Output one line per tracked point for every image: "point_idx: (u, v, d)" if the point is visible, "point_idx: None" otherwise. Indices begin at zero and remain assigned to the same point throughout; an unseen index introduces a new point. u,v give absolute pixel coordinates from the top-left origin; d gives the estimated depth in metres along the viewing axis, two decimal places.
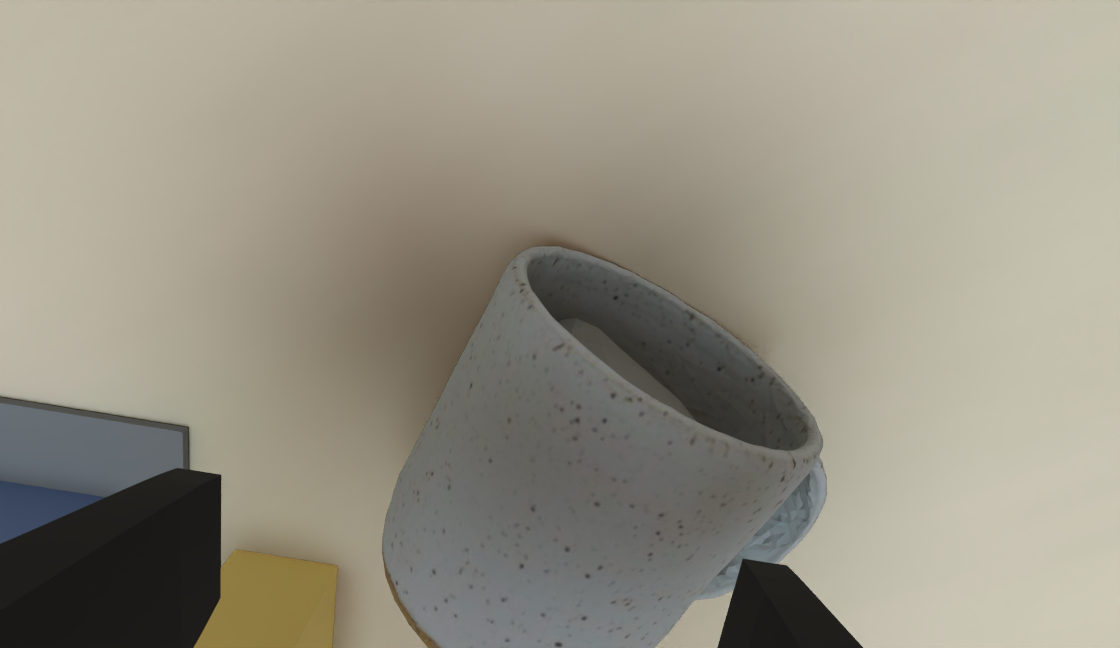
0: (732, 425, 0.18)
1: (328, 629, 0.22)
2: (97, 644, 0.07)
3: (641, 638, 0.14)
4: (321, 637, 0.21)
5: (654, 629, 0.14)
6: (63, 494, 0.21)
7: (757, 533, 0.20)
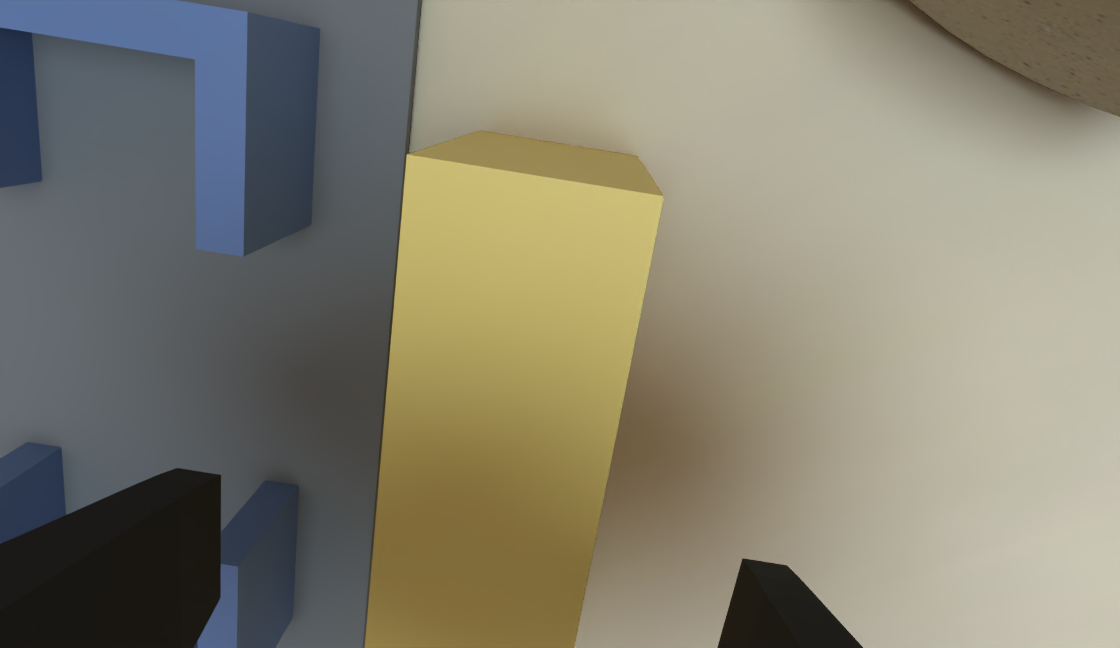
0: None
1: None
2: (97, 644, 0.07)
3: None
4: None
5: None
6: None
7: None
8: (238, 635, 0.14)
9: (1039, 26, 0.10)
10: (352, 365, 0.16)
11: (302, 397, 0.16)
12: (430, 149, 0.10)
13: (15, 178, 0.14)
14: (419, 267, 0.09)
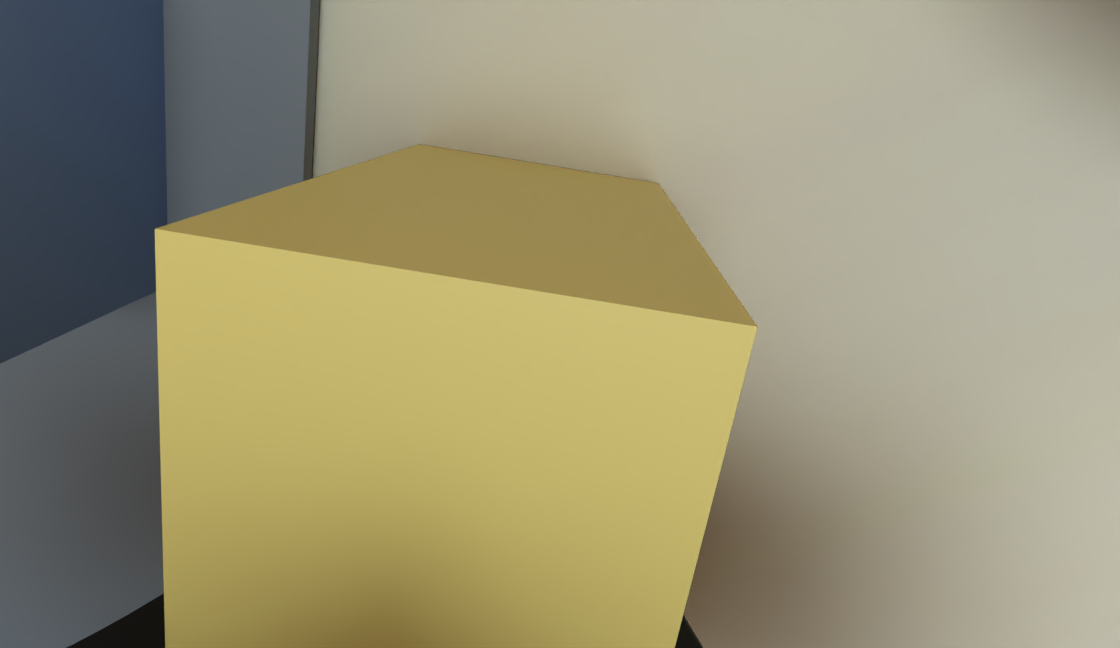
0: None
1: None
2: None
3: None
4: None
5: None
6: None
7: None
8: None
9: None
10: None
11: None
12: (253, 202, 0.05)
13: None
14: (209, 469, 0.04)
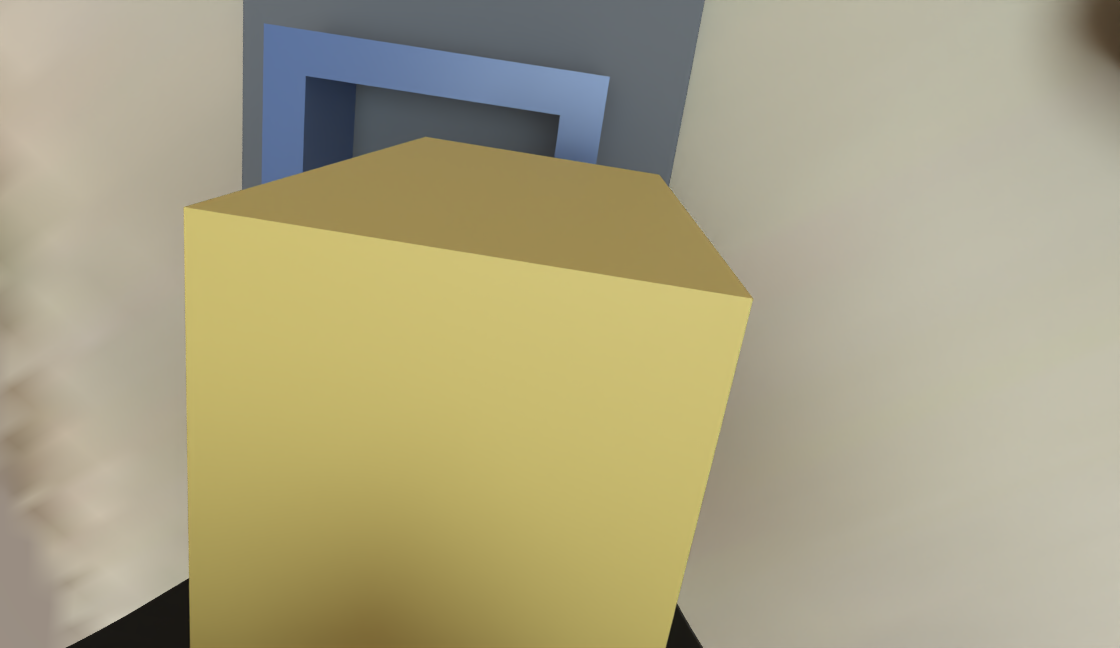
0: None
1: None
2: None
3: None
4: None
5: None
6: None
7: None
8: None
9: None
10: None
11: None
12: (272, 186, 0.05)
13: None
14: (233, 438, 0.04)
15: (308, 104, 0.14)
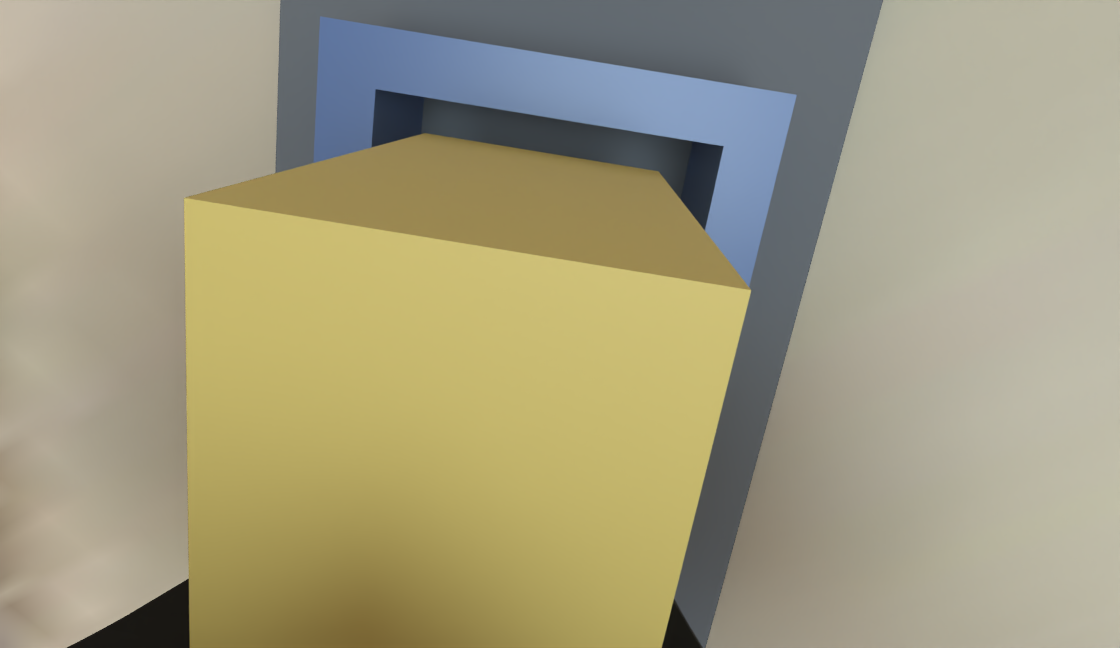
0: None
1: None
2: None
3: None
4: None
5: None
6: None
7: None
8: None
9: None
10: (721, 449, 0.14)
11: None
12: (272, 178, 0.05)
13: None
14: (233, 429, 0.04)
15: (376, 126, 0.10)
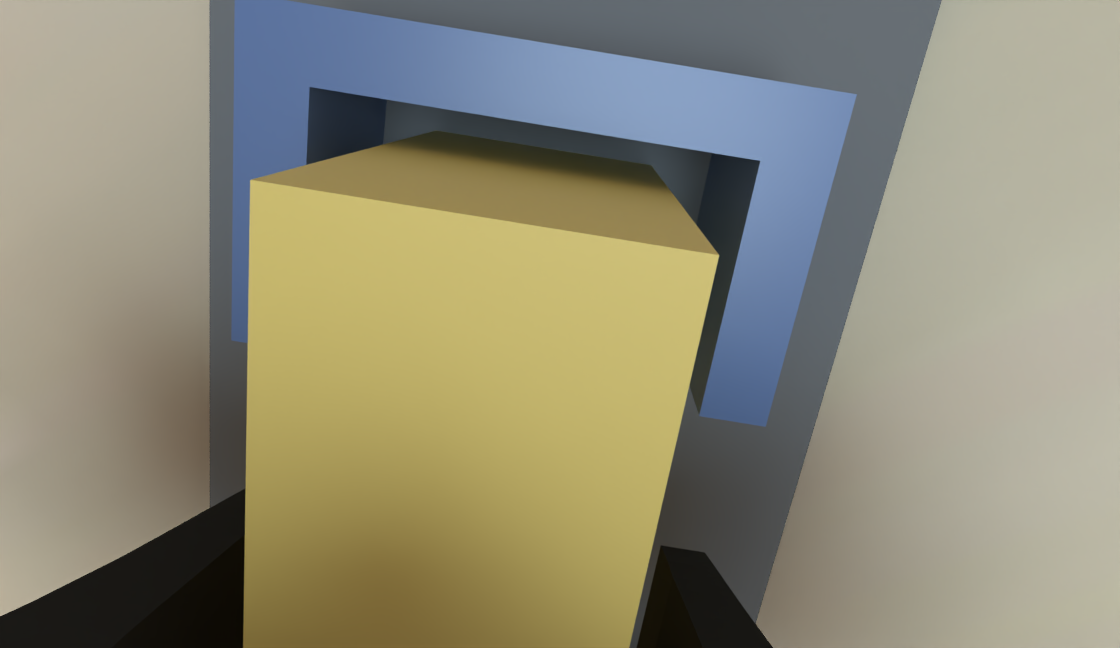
0: None
1: None
2: None
3: None
4: None
5: None
6: None
7: None
8: None
9: None
10: (743, 512, 0.12)
11: None
12: (315, 166, 0.06)
13: None
14: (286, 376, 0.05)
15: (313, 134, 0.08)
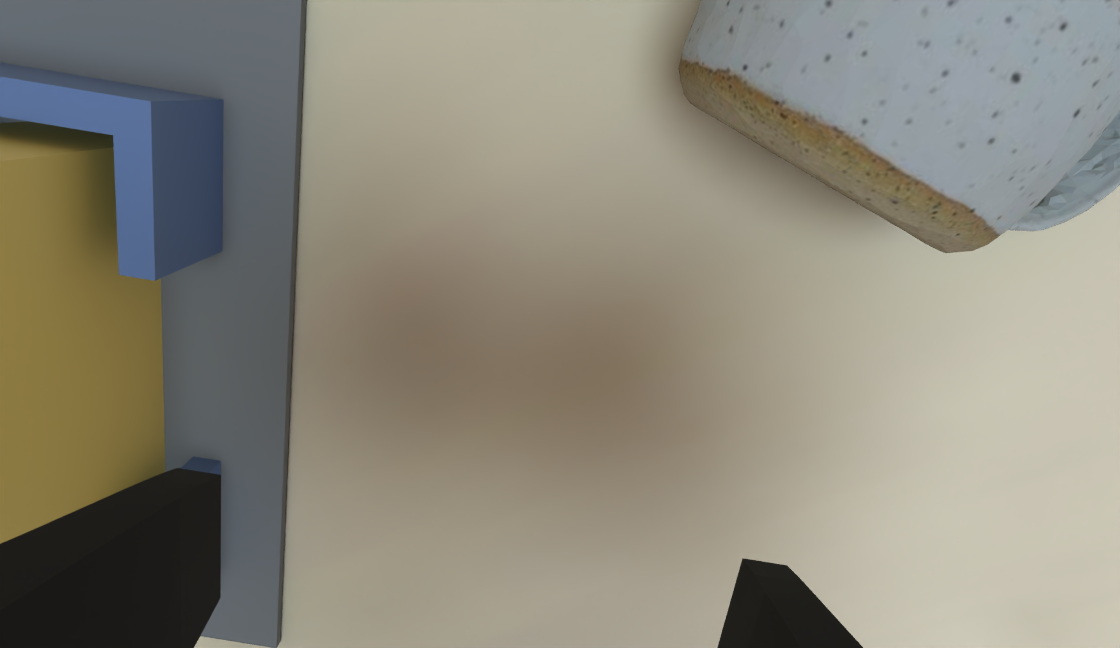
0: None
1: None
2: (97, 644, 0.07)
3: (1099, 104, 0.11)
4: None
5: (1116, 93, 0.11)
6: (150, 88, 0.17)
7: (1084, 158, 0.16)
8: None
9: None
10: (260, 363, 0.19)
11: (220, 389, 0.20)
12: None
13: None
14: None
15: None
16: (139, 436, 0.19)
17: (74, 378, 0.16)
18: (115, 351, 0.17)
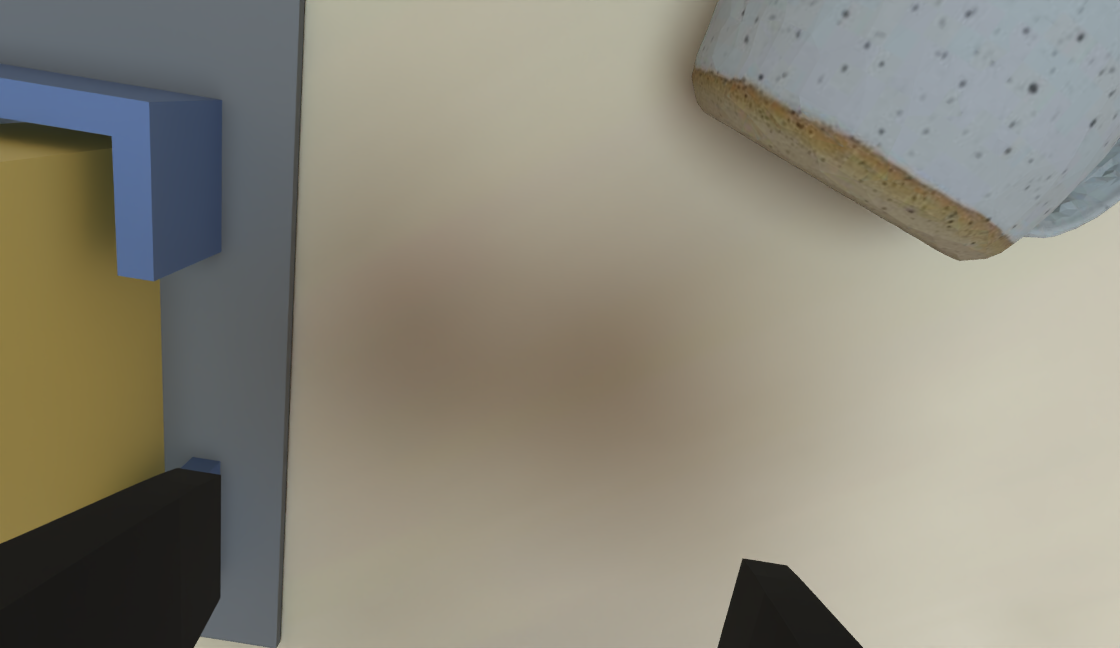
0: None
1: None
2: (97, 644, 0.07)
3: (1115, 113, 0.11)
4: None
5: None
6: (149, 88, 0.17)
7: (1095, 165, 0.16)
8: None
9: None
10: (259, 363, 0.19)
11: (219, 389, 0.20)
12: None
13: None
14: None
15: None
16: (139, 436, 0.19)
17: (73, 379, 0.16)
18: (114, 352, 0.17)
